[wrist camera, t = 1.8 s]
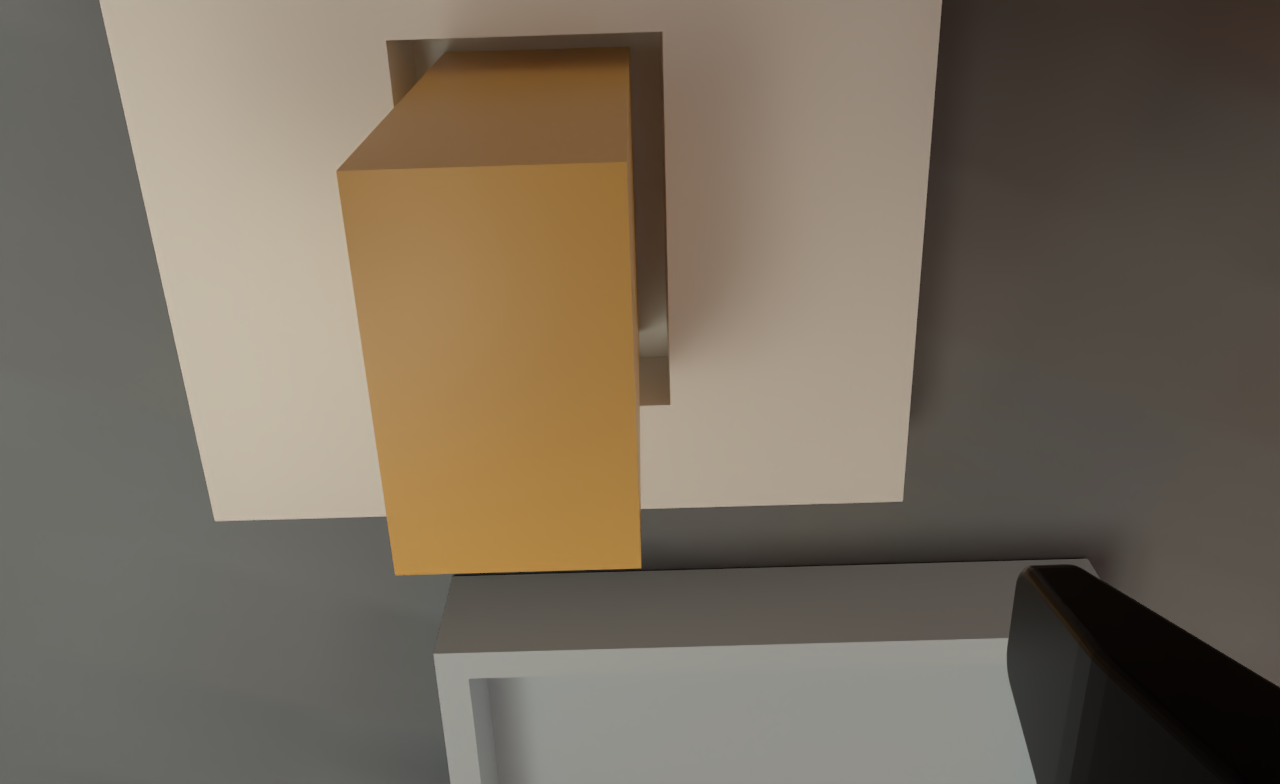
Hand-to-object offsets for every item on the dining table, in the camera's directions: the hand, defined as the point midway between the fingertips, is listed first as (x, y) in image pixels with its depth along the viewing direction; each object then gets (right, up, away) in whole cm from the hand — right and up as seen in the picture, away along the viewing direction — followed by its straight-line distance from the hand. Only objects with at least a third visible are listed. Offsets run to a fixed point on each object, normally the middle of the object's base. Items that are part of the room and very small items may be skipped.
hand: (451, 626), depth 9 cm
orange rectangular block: (0, +5, +11) cm, 12 cm away
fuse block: (0, +5, +11) cm, 12 cm away
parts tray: (+4, -7, +17) cm, 19 cm away
